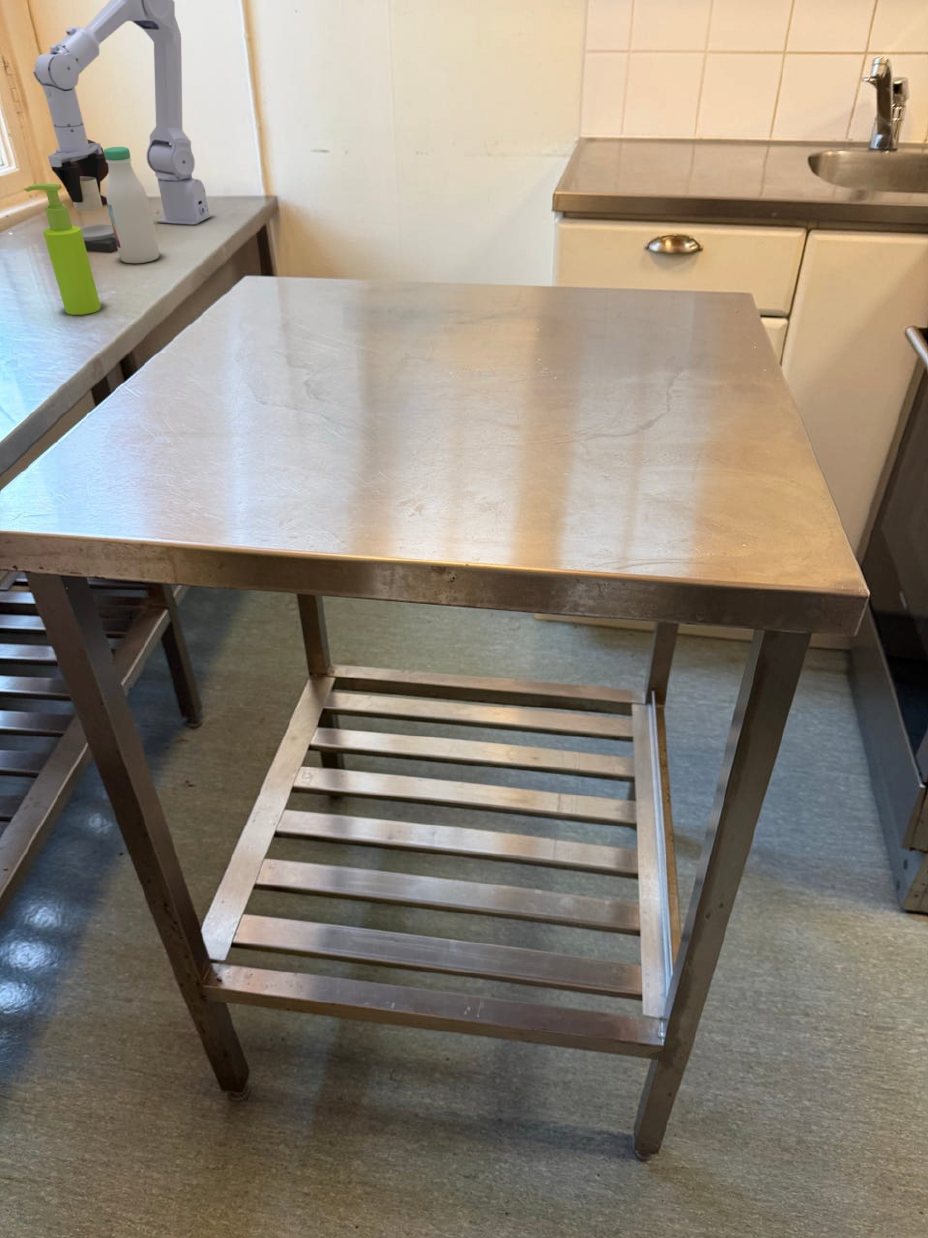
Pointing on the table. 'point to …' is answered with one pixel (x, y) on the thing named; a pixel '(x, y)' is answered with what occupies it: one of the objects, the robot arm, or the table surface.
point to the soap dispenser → (68, 256)
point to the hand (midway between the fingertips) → (86, 198)
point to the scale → (99, 238)
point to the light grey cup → (89, 195)
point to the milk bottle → (129, 209)
